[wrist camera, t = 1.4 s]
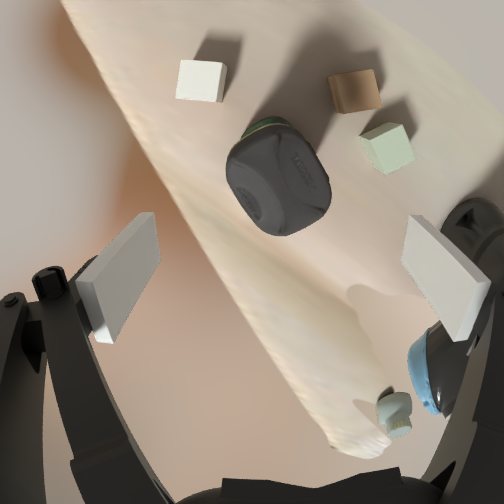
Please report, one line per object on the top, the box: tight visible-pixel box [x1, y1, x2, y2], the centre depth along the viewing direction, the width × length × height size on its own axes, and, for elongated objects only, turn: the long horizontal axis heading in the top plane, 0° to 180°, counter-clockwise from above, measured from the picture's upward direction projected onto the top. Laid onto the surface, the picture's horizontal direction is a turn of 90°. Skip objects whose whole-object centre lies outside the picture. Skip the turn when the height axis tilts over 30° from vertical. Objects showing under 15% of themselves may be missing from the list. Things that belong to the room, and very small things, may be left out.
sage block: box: [359, 122, 417, 175], centre depth 37 cm, size 5×5×5 cm
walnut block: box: [327, 69, 382, 114], centre depth 34 cm, size 5×5×5 cm
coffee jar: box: [226, 117, 332, 236], centre depth 32 cm, size 10×8×19 cm
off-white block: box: [175, 60, 227, 103], centre depth 34 cm, size 5×5×5 cm
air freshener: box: [376, 392, 412, 438], centre depth 59 cm, size 11×8×10 cm
